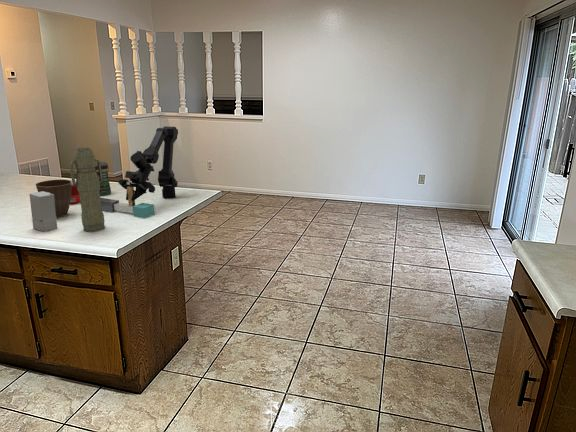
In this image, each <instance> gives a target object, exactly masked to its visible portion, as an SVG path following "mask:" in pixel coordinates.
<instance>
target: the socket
mask: <svg viewBox="0 0 576 432" xmlns="http://www.w3.org/2000/svg"><path fill="white" fill-rule="evenodd" d="M132 208H133V213H132V216H133V217H134V218H139V219H147V218H149V217H152V216H153V215H155V213H156V212H155V204H154V203H147V202H146V203H145V202H141V203H137V204H135V206H132Z"/></svg>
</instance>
